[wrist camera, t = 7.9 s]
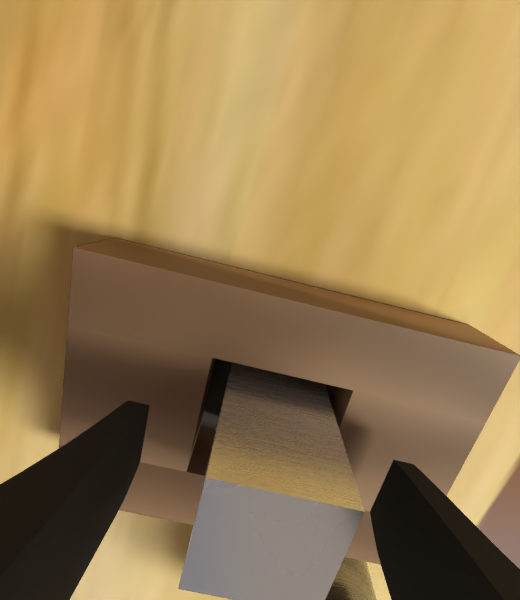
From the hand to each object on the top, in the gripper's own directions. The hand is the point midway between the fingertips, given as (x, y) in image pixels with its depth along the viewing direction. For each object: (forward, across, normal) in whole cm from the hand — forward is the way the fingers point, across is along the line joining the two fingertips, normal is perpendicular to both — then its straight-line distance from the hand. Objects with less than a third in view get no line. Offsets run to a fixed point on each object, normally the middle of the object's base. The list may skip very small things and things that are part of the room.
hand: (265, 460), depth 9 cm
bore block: (+4, 0, 0) cm, 4 cm away
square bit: (+3, 0, 0) cm, 3 cm away
